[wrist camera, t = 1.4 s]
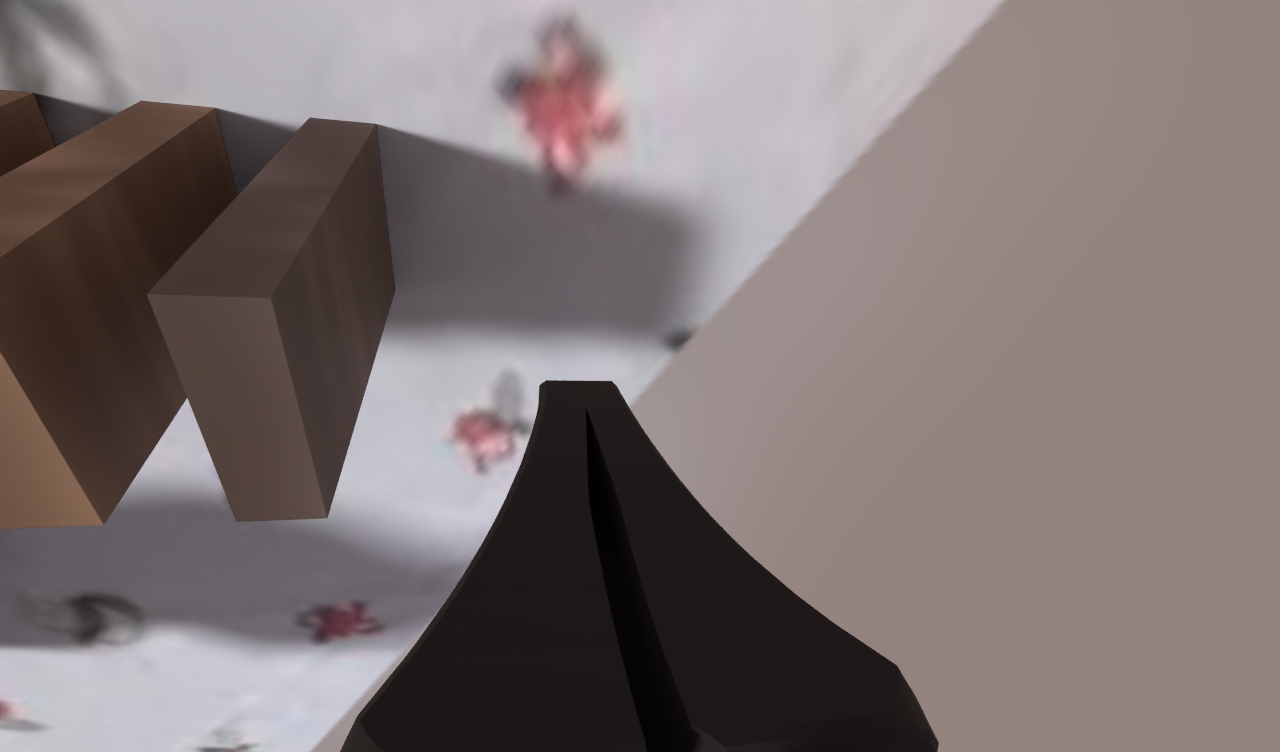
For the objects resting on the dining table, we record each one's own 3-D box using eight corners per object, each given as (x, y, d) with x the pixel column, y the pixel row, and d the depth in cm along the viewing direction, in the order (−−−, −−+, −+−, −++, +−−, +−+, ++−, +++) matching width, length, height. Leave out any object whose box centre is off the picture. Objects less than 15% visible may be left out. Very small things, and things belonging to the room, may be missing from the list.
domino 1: (215, 108, 15) (-40, 284, 8) (261, 284, 18) (104, 525, 11) (140, 101, 15) (-191, 279, 8) (200, 281, 18) (-1, 528, 11)
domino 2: (376, 123, 16) (271, 298, 9) (395, 290, 19) (327, 518, 12) (309, 117, 16) (147, 294, 9) (339, 288, 19) (236, 521, 12)
